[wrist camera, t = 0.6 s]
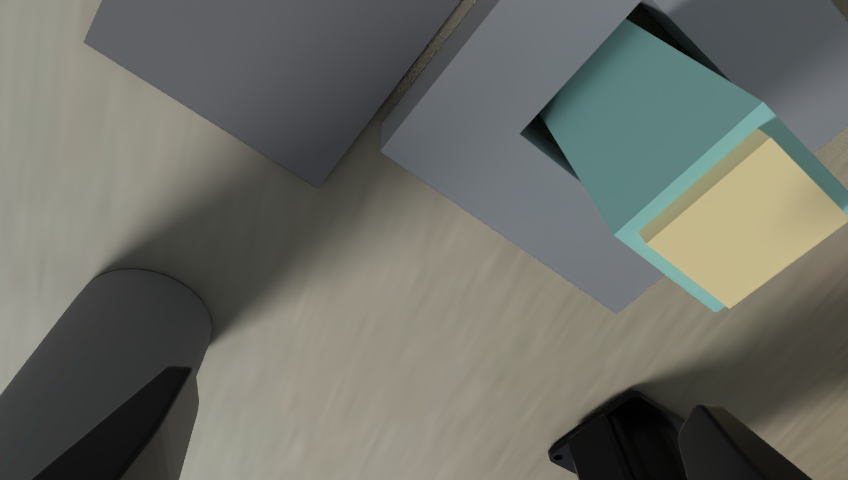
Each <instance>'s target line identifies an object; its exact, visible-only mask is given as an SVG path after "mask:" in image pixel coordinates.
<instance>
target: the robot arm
mask: <svg viewBox="0 0 848 480" xmlns="http://www.w3.org/2000/svg"><path fill="white" fill-rule="evenodd" d="M198 405H199V397H198V388H197V379H196V372H195V370H194V368H193V367H191V366H180V365H170V366H167V367H165V368H164V369H163V370H162V371H160V372H159V373H158V374H157V375H156V376H154V377H153V378H152V379H151V380H150V381H148V382H147V383H146V384H145V385H144V386H142V387H141V388H140V389H139V390H137V391H136V392H135V393H134V394H133V395H131V396H130V397H129V398H128V399H127V400H125V401H124V402H123V403H122V404H121V405H119V406H118V407H117V408H116V409H115V410H113V411H112V412H111V413H110V414H108V415H107V416H106V417H105V418H104V419H102V420H101V421H100V422H99V423H98V424H96V425H95V426H94V427H93V428H92V429H90V430H89V431H88V432H87V433H85V434H84V435H83V436H82V437H81V438H79V439H78V440H77V441H76V442H75V443H73V444H72V445H71V446H70V447H69V448H67V449H66V450H65V451H64V452H63V453H61V454H60V455H59V456H58V457H56V458H55V459H54V460H53V461H52V462H50V463H49V464H48V465H47V466H46V467H44V468H43V469H42V470H41V471H40V472H38V473H37V474H36V475H35V476H33V477H32V478H31V479H30V480H179V477H180V474H181V470H182V467H183V463H184V459H185V456H186V452H187V448H188V445H189V441H190V438H191V434H192V430H193V427H194V423H195V420H196V416H197V412H198ZM548 455H549V458H550V461H551V462H553V463H555V464H557V465H559V466H561V467H563V468H565V469H567V470H569V471H571V472H573V473H575V474H577V477H578V480H812V479H811V478H810V477H809V476H807V475H806V474H805V473H804V472H802V471H801V470H800V469H799V468H797V467H796V466H795V465H794V464H792V463H791V462H790V461H789V460H787V459H786V458H785V457H784V456H783V455H781V454H780V453H779V452H778V451H776V450H775V449H774V448H773V447H771V446H770V445H769V444H768V443H766V442H765V441H764V440H763V439H761V438H760V437H759V436H758V435H756V434H755V433H754V432H753V431H752V430H750V429H749V428H748V427H747V426H745V425H744V424H743V423H742V422H740V421H739V420H738V419H737V418H735V417H734V416H733V415H732V414H730V413H729V412H728V411H727V410H725V409H724V408H723V407H721V406H719V405H713V404H697V405H695V406H694V407H693V409H692V410H691V412H690V414H689V416H688V417H687V419H686V421H685V420H683V419H681V418H680V417H678V416H677V415H675V414H673V413H672V412H670V411H668V410H667V409H665V408H664V407H662V406H660V405H659V404H657V403H656V402H654V401H652V400H651V399H649V398H648V397H646V396H644V395H643V394H641V393H640V392H637V391H630V392H627V393H625V394H624V395H623V396H621V397H620V398H619V399H617V400H616V401H614V402H613V403H612V404H610V405H609V406H608V407H606V408H605V409H603V410H602V411H601V412H599V413H598V414H597V415H595V416H594V417H592V418H591V419H590V420H588V421H587V422H586V423H584V424H583V425H582V426H580V427H579V428H577V429H576V430H575V431H573V432H572V433H571V434H569V435H568V436H566V437H565V438H564V439H562V440H561V441H560V442H558V443H557V444H556V445H554V446H553V447H551V448H550V449H549V450H548Z"/></svg>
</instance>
